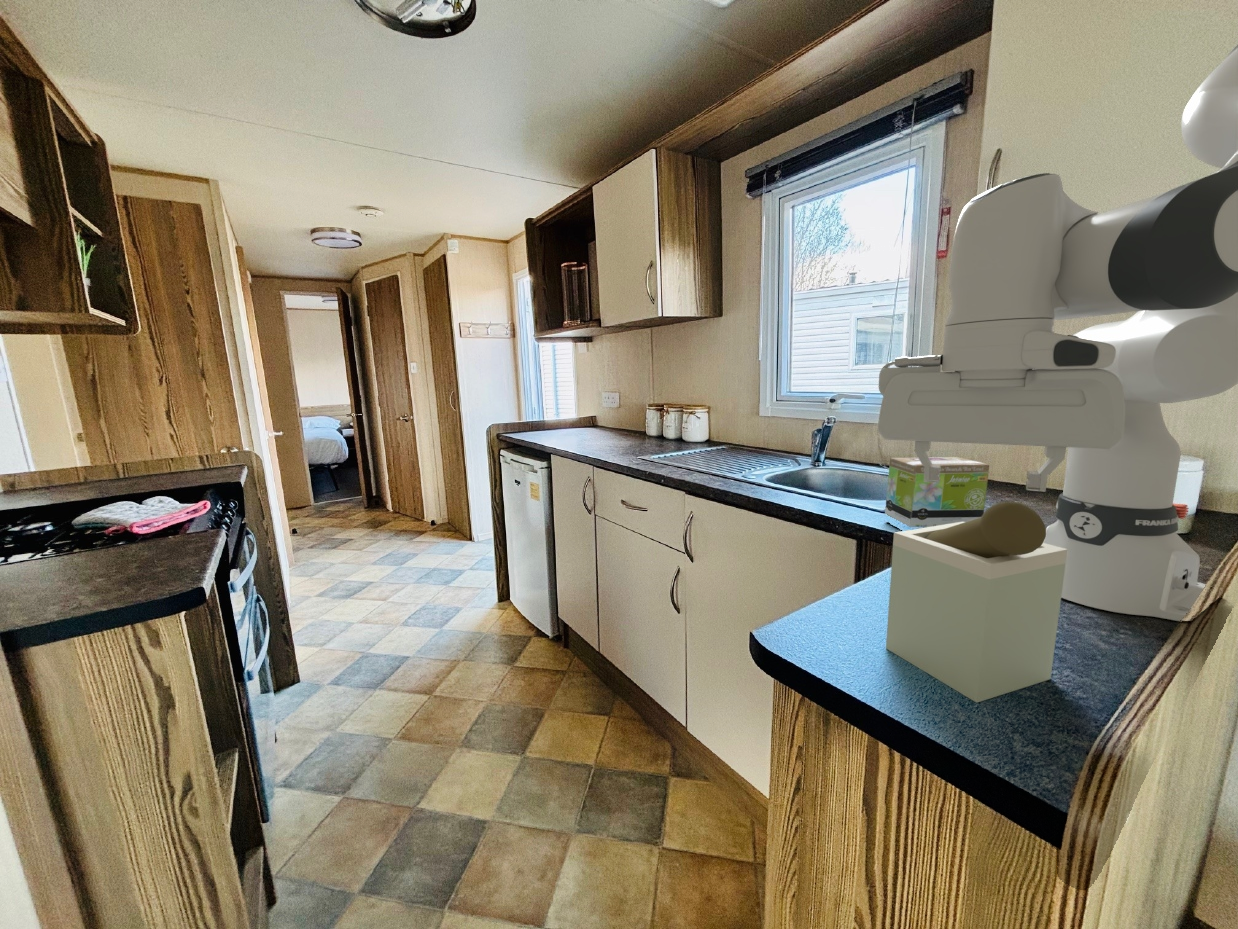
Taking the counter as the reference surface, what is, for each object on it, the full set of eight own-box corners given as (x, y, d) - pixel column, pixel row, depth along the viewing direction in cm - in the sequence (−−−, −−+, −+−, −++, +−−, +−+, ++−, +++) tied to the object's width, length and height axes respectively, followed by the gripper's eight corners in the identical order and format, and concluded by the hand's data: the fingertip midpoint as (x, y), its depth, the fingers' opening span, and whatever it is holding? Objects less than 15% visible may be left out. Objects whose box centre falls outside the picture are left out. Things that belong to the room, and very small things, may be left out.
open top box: (952, 631, 64) (963, 521, 61) (1050, 679, 53) (1067, 549, 51) (885, 648, 60) (893, 532, 58) (976, 702, 50) (990, 564, 47)
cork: (979, 550, 57) (1064, 514, 48) (967, 594, 55) (1053, 565, 45) (929, 522, 58) (1002, 480, 49) (915, 563, 56) (988, 528, 46)
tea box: (910, 536, 101) (915, 464, 98) (883, 522, 111) (887, 456, 108) (983, 534, 101) (991, 462, 99) (950, 520, 111) (956, 454, 109)
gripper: (875, 357, 54) (868, 481, 57) (1141, 345, 43) (1118, 503, 45) (884, 358, 59) (877, 472, 62) (1124, 348, 48) (1104, 489, 50)
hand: (981, 485), depth 53 cm, fingers open, 8 cm apart
